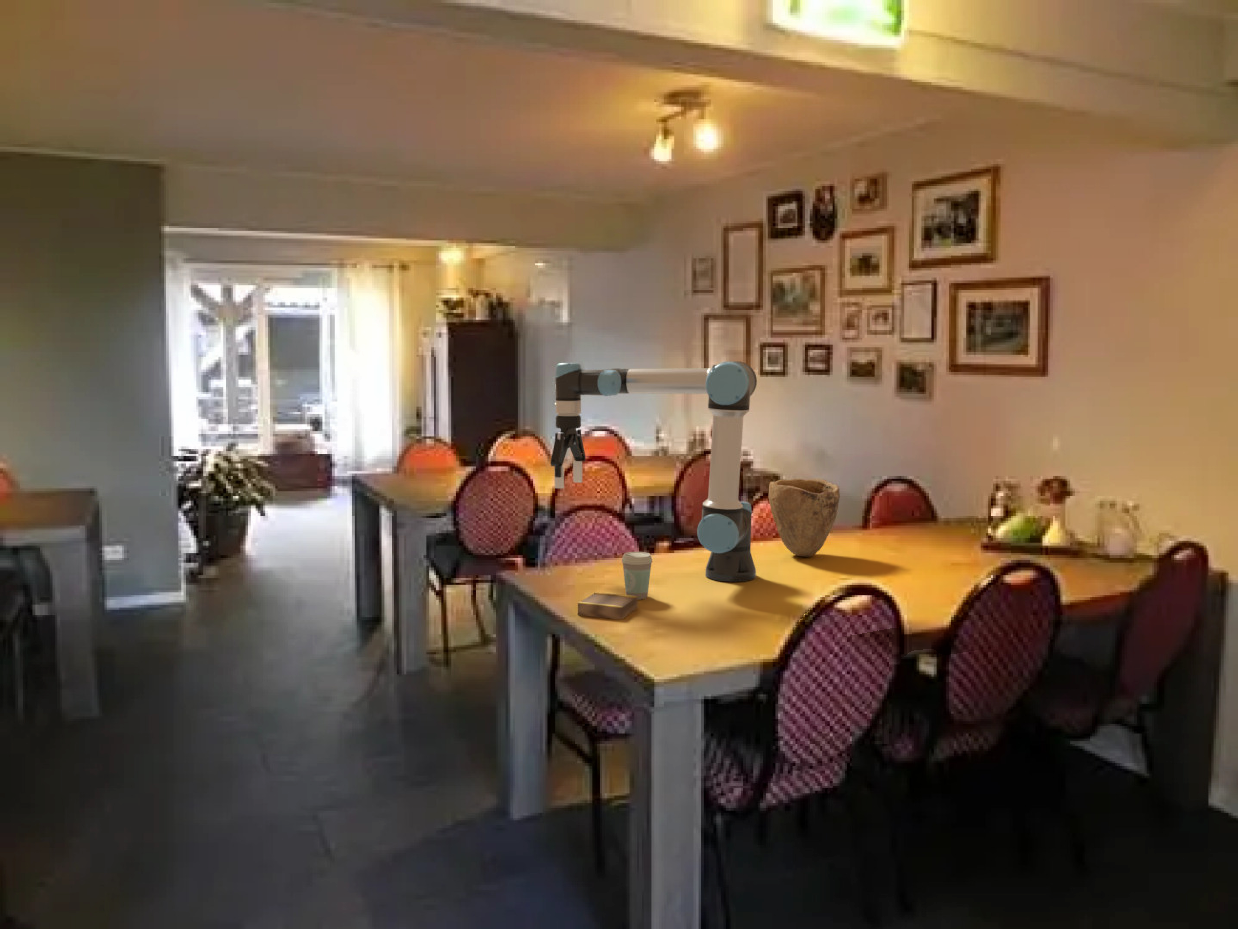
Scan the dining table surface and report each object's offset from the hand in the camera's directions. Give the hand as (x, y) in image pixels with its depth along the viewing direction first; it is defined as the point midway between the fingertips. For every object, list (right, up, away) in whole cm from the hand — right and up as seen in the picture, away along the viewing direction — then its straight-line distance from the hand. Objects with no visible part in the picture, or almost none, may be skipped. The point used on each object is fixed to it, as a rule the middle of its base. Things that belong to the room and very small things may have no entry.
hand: (568, 485), depth 302 cm
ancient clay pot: (+76, -24, +30) cm, 85 cm away
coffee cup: (+20, -31, -25) cm, 44 cm away
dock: (+12, -32, -40) cm, 53 cm away
